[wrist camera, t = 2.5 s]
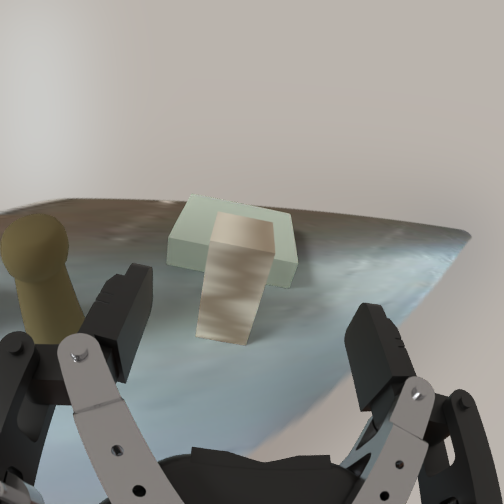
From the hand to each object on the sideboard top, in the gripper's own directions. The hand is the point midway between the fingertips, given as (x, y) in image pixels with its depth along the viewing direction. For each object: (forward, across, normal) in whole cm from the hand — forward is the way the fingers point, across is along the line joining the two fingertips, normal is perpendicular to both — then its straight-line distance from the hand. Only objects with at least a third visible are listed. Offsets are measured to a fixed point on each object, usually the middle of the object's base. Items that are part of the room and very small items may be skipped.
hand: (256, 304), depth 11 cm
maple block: (+12, 0, +13) cm, 18 cm away
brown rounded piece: (+6, +14, +13) cm, 20 cm away
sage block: (+24, 0, +13) cm, 28 cm away
